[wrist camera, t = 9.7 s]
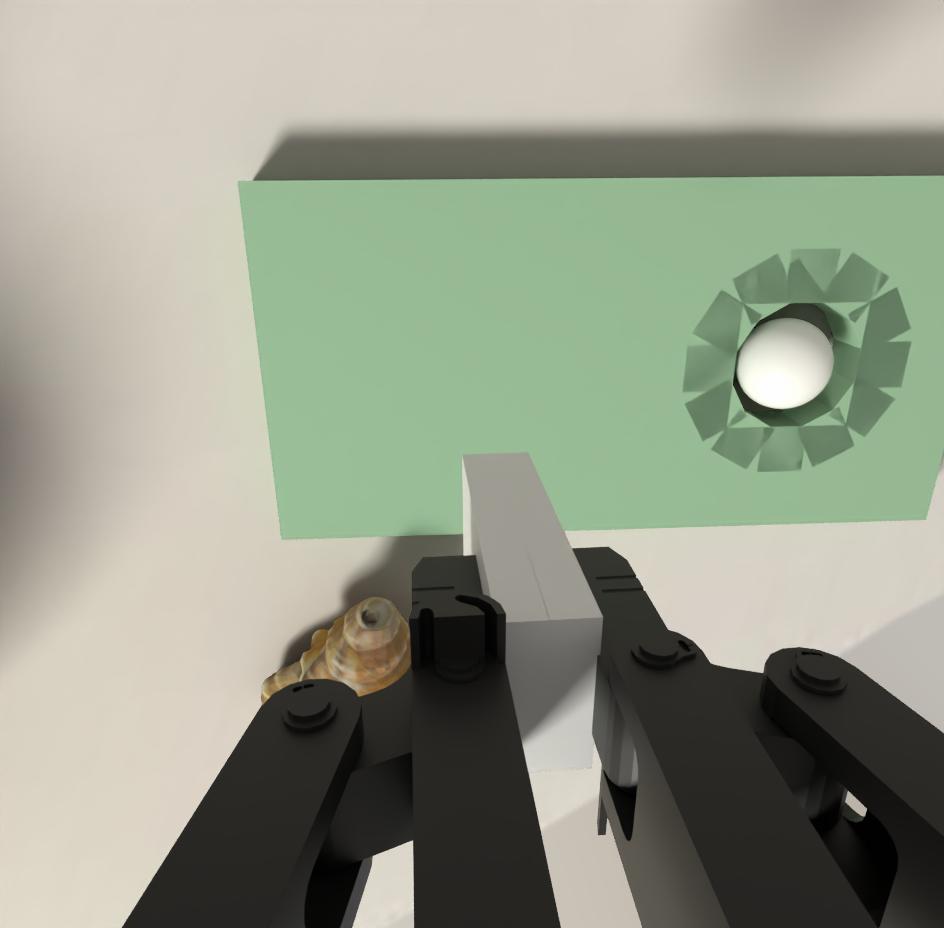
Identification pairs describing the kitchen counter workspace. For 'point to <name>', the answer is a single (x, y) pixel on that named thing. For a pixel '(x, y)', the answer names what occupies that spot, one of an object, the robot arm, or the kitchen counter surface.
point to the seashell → (353, 651)
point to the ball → (784, 363)
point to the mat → (593, 347)
